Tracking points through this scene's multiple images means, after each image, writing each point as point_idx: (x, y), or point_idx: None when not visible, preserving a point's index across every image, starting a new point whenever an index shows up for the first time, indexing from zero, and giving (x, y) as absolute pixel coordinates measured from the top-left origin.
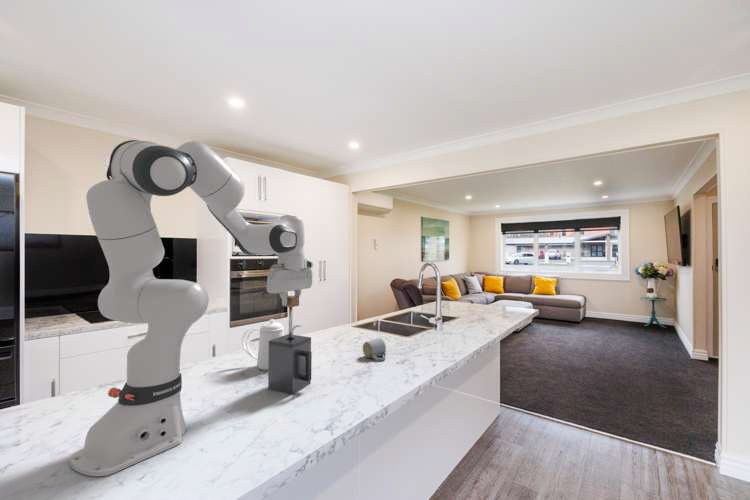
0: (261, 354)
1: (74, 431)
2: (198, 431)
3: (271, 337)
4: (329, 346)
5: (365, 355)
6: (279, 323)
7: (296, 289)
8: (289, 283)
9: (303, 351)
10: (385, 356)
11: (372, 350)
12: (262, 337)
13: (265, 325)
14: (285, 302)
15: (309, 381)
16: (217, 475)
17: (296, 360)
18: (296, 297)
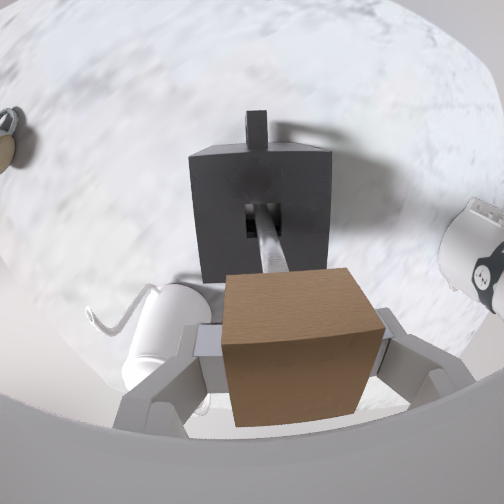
0: None
1: (457, 323)
2: (450, 202)
3: None
4: (20, 281)
5: (11, 157)
6: (133, 382)
7: (282, 443)
8: (499, 476)
9: (256, 143)
10: (3, 109)
11: (2, 134)
12: None
13: None
14: (395, 325)
15: (217, 145)
16: (488, 108)
17: (291, 146)
18: (283, 335)
